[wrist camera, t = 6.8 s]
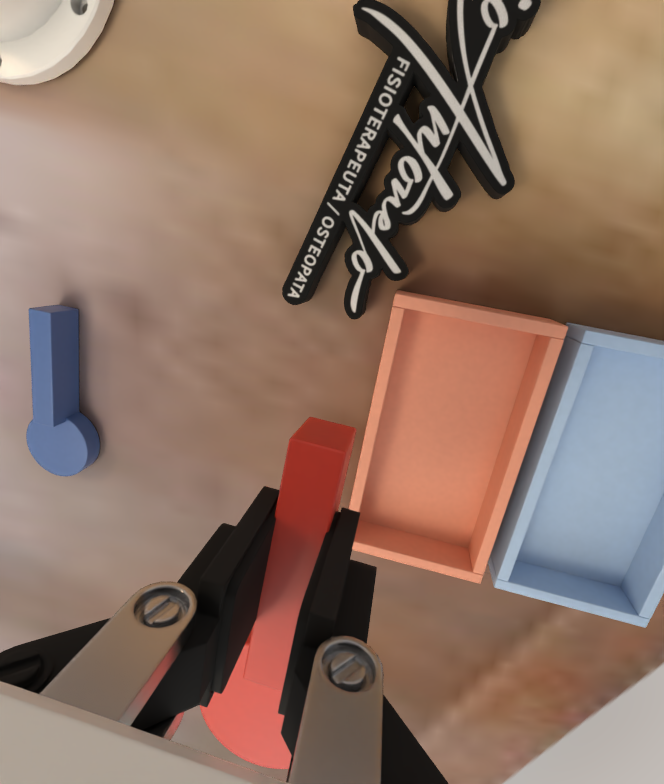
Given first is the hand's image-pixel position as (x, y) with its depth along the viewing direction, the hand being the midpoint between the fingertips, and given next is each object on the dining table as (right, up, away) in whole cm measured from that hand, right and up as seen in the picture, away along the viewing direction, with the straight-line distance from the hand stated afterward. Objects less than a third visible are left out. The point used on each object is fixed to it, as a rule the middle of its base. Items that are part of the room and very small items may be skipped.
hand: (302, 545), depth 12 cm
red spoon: (0, -2, +1) cm, 2 cm away
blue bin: (+15, 0, +11) cm, 19 cm away
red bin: (+7, +2, +12) cm, 14 cm away
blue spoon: (-16, +4, +16) cm, 23 cm away
